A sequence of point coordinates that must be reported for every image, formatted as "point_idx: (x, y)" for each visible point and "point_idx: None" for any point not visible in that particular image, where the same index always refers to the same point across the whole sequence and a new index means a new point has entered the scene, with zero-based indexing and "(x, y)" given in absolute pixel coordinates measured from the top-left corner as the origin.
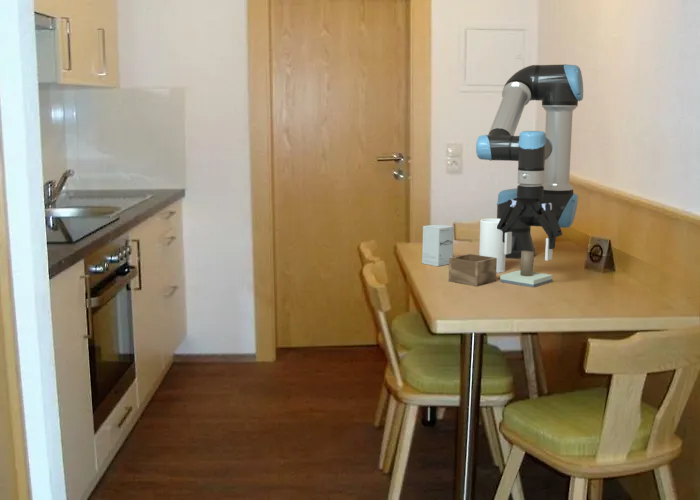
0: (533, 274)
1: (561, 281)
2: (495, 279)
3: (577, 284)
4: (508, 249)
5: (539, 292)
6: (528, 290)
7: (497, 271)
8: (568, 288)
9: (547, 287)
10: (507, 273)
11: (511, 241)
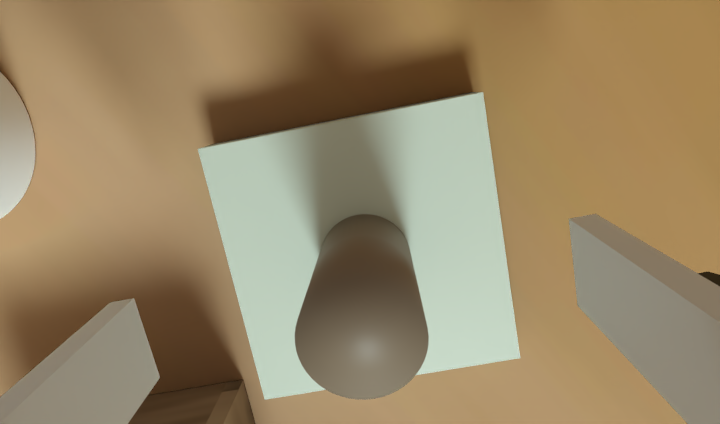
0: (380, 200)
1: (509, 25)
2: (241, 391)
3: (650, 12)
4: (128, 369)
5: (617, 407)
6: (540, 416)
7: (27, 174)
8: (678, 178)
9: (565, 265)
10: (246, 321)
11: (65, 362)
